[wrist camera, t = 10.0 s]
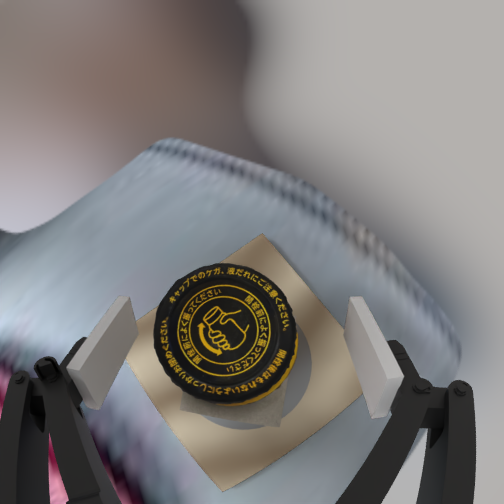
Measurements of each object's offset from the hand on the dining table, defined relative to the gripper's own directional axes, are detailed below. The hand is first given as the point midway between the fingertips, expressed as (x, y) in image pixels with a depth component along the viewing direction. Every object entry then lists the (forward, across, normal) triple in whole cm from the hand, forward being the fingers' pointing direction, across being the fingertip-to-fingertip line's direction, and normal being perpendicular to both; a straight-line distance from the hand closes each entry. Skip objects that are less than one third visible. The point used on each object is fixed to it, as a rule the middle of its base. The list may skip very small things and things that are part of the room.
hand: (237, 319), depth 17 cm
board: (+3, 0, -6) cm, 7 cm away
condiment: (+2, 0, -6) cm, 6 cm away
